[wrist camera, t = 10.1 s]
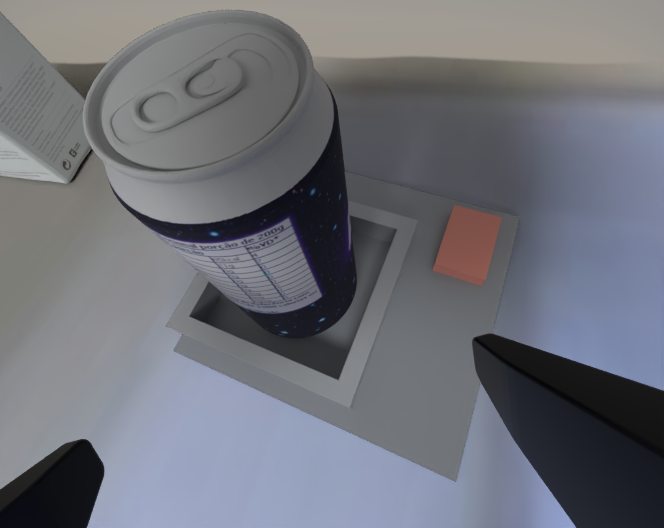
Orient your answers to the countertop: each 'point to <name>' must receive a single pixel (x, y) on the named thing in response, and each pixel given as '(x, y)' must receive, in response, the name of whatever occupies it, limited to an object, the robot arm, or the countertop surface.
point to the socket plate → (379, 326)
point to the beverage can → (233, 162)
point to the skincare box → (37, 114)
